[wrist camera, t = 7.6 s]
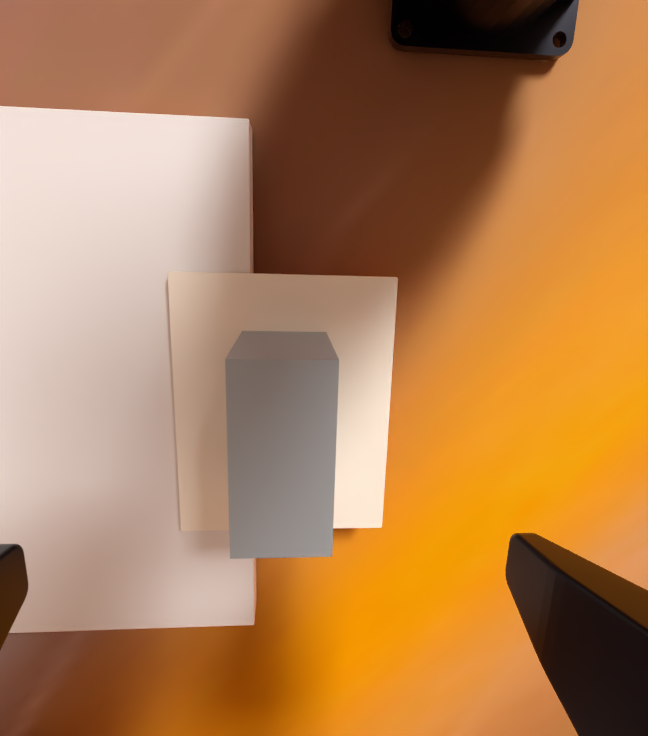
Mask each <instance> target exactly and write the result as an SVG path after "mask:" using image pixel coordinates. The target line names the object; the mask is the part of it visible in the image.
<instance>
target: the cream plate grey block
mask: <svg viewBox="0 0 648 736" xmlns="http://www.w3.org/2000/svg"><path fill="white" fill-rule="evenodd" d="M167 274H168V293H169V312H170V330H171V349H172V368H173V387H174V406H175V425H176V443H177V462H178V481H179V500H180V519H181V531H211V530H229V537H230V559H246V558H291V557H332V546H333V528H382V518H383V502H384V487H385V471H386V456H387V441H388V425H389V410H390V395H391V379H392V364H393V349H394V333H395V318H396V302H397V287H398V277H382V276H341V275H301V274H261V273H221V272H181V271H169V272H167Z"/></svg>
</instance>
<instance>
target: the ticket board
mask: <svg viewBox="0 0 648 736" xmlns="http://www.w3.org/2000/svg"><path fill="white" fill-rule="evenodd" d="M169 271H181V272H221V273H254V267H253V157H252V128H251V125H250V121H249V119H243V118H223V117H203V116H184V115H164V114H144V113H124V112H104V111H84V110H65V109H45V108H25V107H5V106H0V544H19V545H20V546H21V547H22V548H23V551H24V556H25V563H26V570H27V576H28V592H27V596H26V598H25V601H24V603H23V605H22V607H21V609H20V611H19V613H18V615H17V617H16V619H15V621H14V623H13V625H12V627H11V629H10V631H9V633H28V632H58V631H88V630H118V629H148V628H178V627H208V626H238V625H254V621H255V610H256V600H257V599H256V558H246V559H230V537H229V530H211V531H181V519H180V500H179V481H178V462H177V443H176V425H175V406H174V387H173V368H172V349H171V330H170V312H169V293H168V274H167V272H169Z"/></svg>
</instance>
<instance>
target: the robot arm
mask: <svg viewBox="0 0 648 736" xmlns="http://www.w3.org/2000/svg"><path fill="white" fill-rule="evenodd" d="M578 2H579V0H390V12H389V30H388V35H389V41H390V43H391V45H392V46H393V47H394V48H395V49H397V50H400V51H411V52H427V53H443V54H459V55H475V56H490V57H506V58H522V59H538V60H556V59H558V58H559V57H561V56H562V55H564V54H565V53H567V52H568V51H569V49H570V48H571V46H572V43H573V39H574V31H575V24H576V17H577V10H578ZM401 26H404V27H407V29H408V30H409V34H410V36H409V37H407V38H404V37H401V36H400V35H399V33H398V28H399V27H401ZM553 36H555V37H557V38H558V39H559V40H560V47H559V48H557V47H555V46H554V44H553ZM506 580H507V584H508V586H509V589H510V591H511V594H512V596H513V598H514V601H515V603H516V606H517V608H518V611H519V613H520V615H521V618H522V620H523V623H524V625H525V628H526V630H527V632H528V635H529V637H530V640H531V642H532V645H533V647H534V649H535V652H536V654H537V656H538V658H539V661H540V663H541V665H542V667H543V669H544V671H545V673H546V675H547V677H548V679H549V681H550V683H551V684H552V686H553V688H554V690H555V692H556V694H557V696H558V698H559V700H560V701H561V703H562V705H563V707H564V709H565V711H566V713H567V715H568V717H569V718H570V720H571V722H572V724H573V726H574V728H575V730H576V732H577V734H578V736H648V590H646V589H644V588H642V587H640V586H638V585H636V584H634V583H632V582H630V581H628V580H626V579H624V578H622V577H620V576H618V575H616V574H614V573H612V572H610V571H608V570H606V569H604V568H602V567H600V566H598V565H596V564H594V563H592V562H590V561H588V560H586V559H584V558H582V557H580V556H578V555H577V554H575V553H573V552H571V551H569V550H567V549H565V548H563V547H561V546H559V545H557V544H555V543H553V542H551V541H549V540H547V539H545V538H543V537H541V536H539V535H537V534H535V533H515V534H514V535H512V536H511V538H510V542H509V549H508V556H507V564H506ZM27 592H28V576H27V570H26V563H25V556H24V551H23V548H22V547H21V546H20V545H19V544H0V650H1V648H2V646H3V644H4V641H5V639H6V637H7V635H8V633H9V631H10V629H11V627H12V625H13V623H14V621H15V619H16V617H17V615H18V613H19V611H20V609H21V607H22V605H23V603H24V601H25V598H26V596H27Z"/></svg>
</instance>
